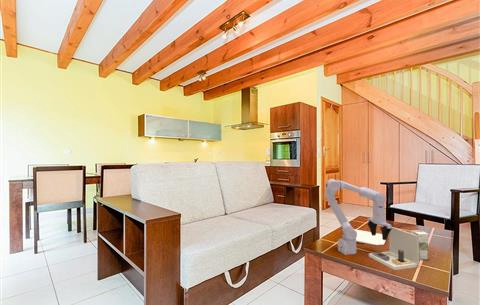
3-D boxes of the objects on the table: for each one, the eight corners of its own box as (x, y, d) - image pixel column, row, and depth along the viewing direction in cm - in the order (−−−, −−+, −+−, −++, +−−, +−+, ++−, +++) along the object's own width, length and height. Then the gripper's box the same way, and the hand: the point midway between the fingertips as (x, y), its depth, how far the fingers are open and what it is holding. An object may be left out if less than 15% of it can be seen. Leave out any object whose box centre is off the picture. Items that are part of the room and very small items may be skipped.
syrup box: (420, 255, 130) (419, 229, 130) (429, 260, 124) (428, 233, 124) (410, 255, 130) (409, 230, 130) (418, 260, 124) (418, 233, 124)
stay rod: (401, 265, 115) (401, 252, 115) (397, 263, 117) (396, 250, 118) (405, 265, 116) (405, 251, 116) (400, 263, 118) (400, 249, 118)
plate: (383, 249, 139) (383, 245, 139) (340, 240, 155) (340, 237, 155) (387, 238, 159) (387, 234, 159) (349, 231, 174) (349, 228, 174)
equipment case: (394, 272, 111) (394, 238, 111) (368, 258, 126) (368, 228, 127) (419, 268, 114) (418, 235, 115) (391, 255, 130) (390, 226, 130)
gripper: (395, 216, 123) (396, 241, 123) (374, 210, 138) (374, 232, 137) (385, 217, 122) (385, 242, 122) (364, 210, 136) (364, 233, 136)
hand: (379, 237), depth 129 cm, fingers open, 7 cm apart
